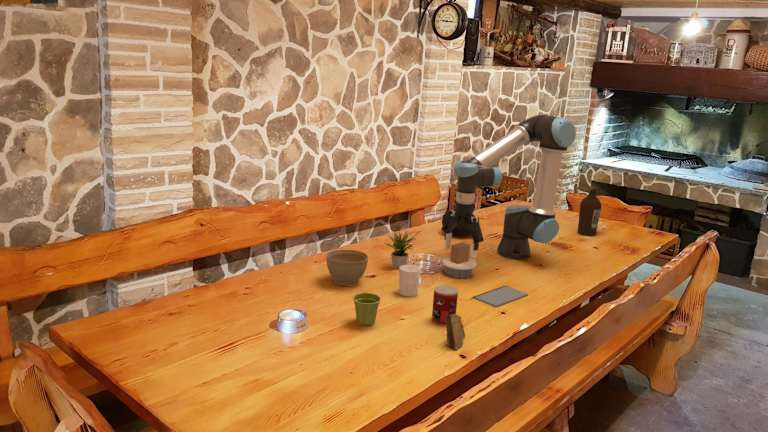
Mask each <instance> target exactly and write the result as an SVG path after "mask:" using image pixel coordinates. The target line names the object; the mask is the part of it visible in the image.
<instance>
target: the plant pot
mask: <svg viewBox="0 0 768 432" xmlns="http://www.w3.org/2000/svg"><path fill="white" fill-rule="evenodd" d="M352 300H353V304H354V308H355V318H356V323H357V324H358V325H360V326H365V327H366V326H367V327H368V326H373V325H375V324H376V319H377V315H378V314H377V313H378V310H379V309H378V308H379V305H380V302H381V300H382V297H381V296H380V295H378V294H377V293H371V292H358V293H356V294H354V295H353V296H352Z"/></svg>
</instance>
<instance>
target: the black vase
mask: <svg viewBox="0 0 768 432" xmlns="http://www.w3.org/2000/svg"><path fill="white" fill-rule="evenodd" d="M453 210H455V208H453ZM449 211H451V210H447V211H445V212H444V213H443V215H442V219H441V225H442V226H443V224H444V223H445V221H446V219H447V217H448V214H449ZM455 212H456V211H455ZM472 215H473V217H476V215H475V214H472ZM455 219H456V218H455V216H454V218H453V219H452V221H451V223H452V222H453V221H454V220H455ZM451 223H450V225H451ZM472 223H473V222H472ZM450 225H449V226H450ZM469 225H470V224H469ZM473 227H474V226H473ZM450 233H452V237H455V238H467V237H469V236H470V237H471V235H470V233H469V231H468V229H467V228H466V226H463V225H461V224H457V225H456V226H455V227H454V229H453V230H452V231H451V232H450Z"/></svg>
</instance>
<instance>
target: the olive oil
mask: <svg viewBox="0 0 768 432" xmlns="http://www.w3.org/2000/svg"><path fill="white" fill-rule="evenodd" d="M588 192H589V193H588V195H586V196H585V197H584V198H583V199H582V200H581V201H580V204H579V213H578V225H577V234H579V235H580V236H584V237H595V236H596V235H597V231H598V228H599V220H600V215H601V210H602V202H601V200H600V199H599V198H598V196H597V187H595V186H594V187H593V186H591V187H590V188H589V191H588Z"/></svg>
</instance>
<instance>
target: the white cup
mask: <svg viewBox="0 0 768 432" xmlns="http://www.w3.org/2000/svg"><path fill="white" fill-rule="evenodd" d="M398 269H399V271H398V272H399V273H398V287H399V288H398V292H399V294H400V295H401V296H404V297H409V298H411V297H415V296H417V295H418V290H419V285H420V276H421V270H422V268H421V267H420V266H418V265H414V264H406V265H402V266H400V267H399V268H398Z"/></svg>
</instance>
